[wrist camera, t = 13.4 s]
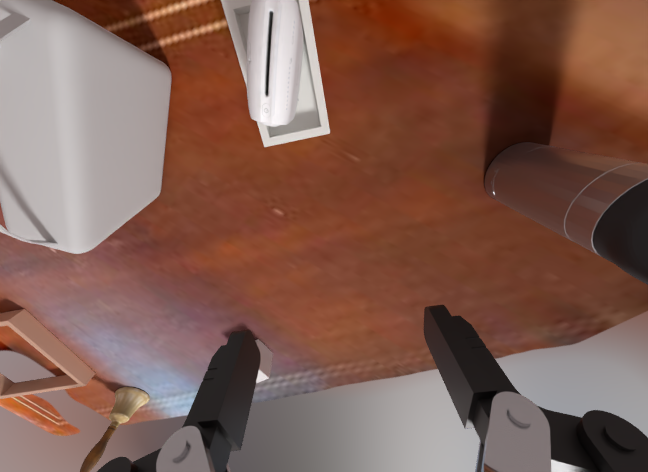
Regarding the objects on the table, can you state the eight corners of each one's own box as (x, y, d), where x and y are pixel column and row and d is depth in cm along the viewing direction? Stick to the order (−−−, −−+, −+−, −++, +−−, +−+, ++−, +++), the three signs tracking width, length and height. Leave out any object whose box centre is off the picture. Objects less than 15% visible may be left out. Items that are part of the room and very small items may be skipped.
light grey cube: (237, 347, 56) (229, 372, 51) (258, 338, 55) (252, 363, 50) (253, 361, 59) (246, 386, 53) (273, 353, 57) (269, 378, 52)
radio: (102, 16, 28) (-719, -319, 6) (178, 51, 29) (-222, -101, 7) (105, 188, 37) (-196, 312, 15) (162, 207, 39) (-34, 341, 17)
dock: (305, -12, 27) (304, -23, 25) (329, 131, 34) (330, 133, 32) (228, 7, 27) (220, -1, 25) (267, 144, 35) (264, 147, 32)
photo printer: (296, 123, 33) (287, 133, 22) (264, 117, 32) (239, 125, 22) (307, 27, 28) (302, -20, 17) (270, 18, 28) (241, -36, 17)
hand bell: (130, 406, 66) (81, 487, 52) (108, 390, 62) (48, 473, 48) (156, 399, 65) (113, 480, 51) (135, 383, 61) (82, 466, 47)
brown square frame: (24, 308, 48) (7, 320, 45) (95, 373, 59) (85, 385, 56) (-73, 326, 49) (-94, 338, 47) (14, 385, 60) (0, 398, 57)
